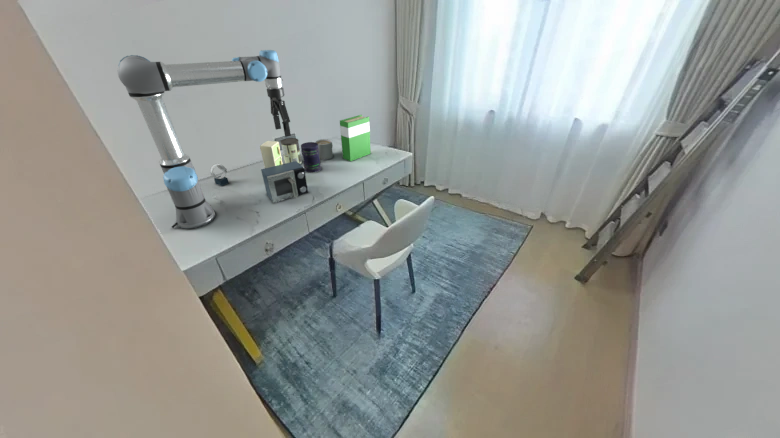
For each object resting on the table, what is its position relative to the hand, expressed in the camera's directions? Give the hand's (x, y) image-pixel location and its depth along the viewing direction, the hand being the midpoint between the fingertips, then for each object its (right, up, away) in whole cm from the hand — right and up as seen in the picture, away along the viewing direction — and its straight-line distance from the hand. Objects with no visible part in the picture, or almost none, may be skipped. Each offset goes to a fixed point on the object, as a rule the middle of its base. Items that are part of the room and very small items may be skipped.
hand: (283, 132), depth 159 cm
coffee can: (-6, -9, +37) cm, 38 cm away
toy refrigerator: (-9, -22, +17) cm, 29 cm away
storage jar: (+8, -14, +29) cm, 33 cm away
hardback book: (+32, -3, +46) cm, 57 cm away
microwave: (+1, -31, +3) cm, 31 cm away
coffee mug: (+13, -3, +46) cm, 48 cm away
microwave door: (+4, -35, -3) cm, 35 cm away
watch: (-38, -24, +13) cm, 47 cm away
